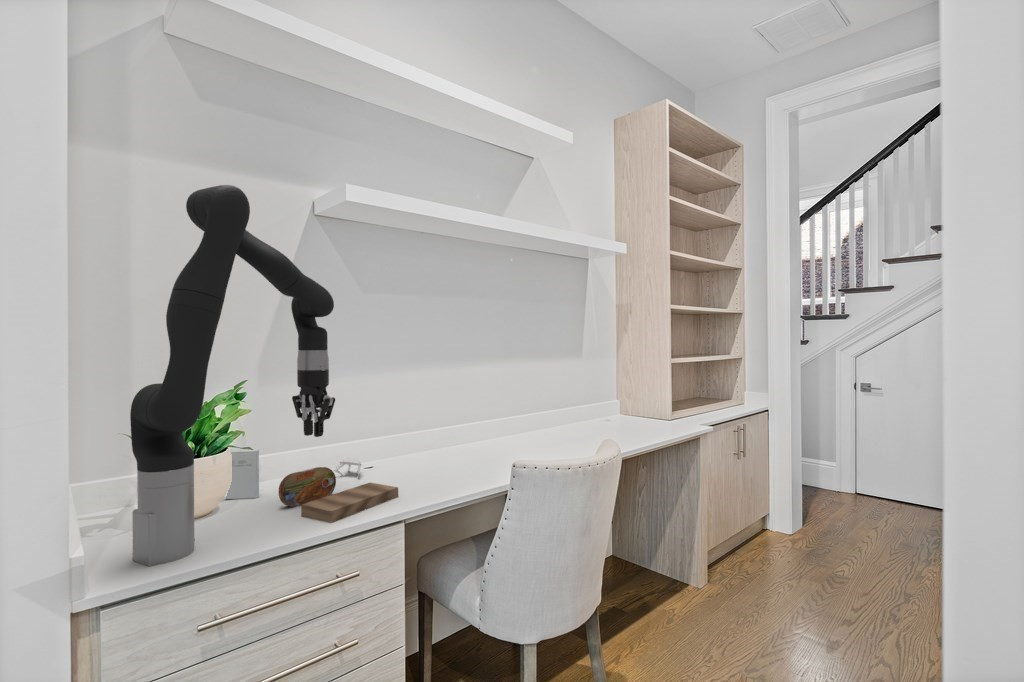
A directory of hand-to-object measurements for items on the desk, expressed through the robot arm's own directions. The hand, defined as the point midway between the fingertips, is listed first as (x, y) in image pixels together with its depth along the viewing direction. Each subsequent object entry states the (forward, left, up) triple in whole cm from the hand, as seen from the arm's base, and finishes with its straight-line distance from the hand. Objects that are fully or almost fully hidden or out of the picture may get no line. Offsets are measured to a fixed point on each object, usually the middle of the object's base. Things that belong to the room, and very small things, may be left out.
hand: (313, 435), depth 135 cm
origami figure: (+23, +11, -18) cm, 31 cm away
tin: (-1, +2, -17) cm, 18 cm away
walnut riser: (+2, -12, -17) cm, 21 cm away
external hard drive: (-6, +20, -17) cm, 27 cm away
